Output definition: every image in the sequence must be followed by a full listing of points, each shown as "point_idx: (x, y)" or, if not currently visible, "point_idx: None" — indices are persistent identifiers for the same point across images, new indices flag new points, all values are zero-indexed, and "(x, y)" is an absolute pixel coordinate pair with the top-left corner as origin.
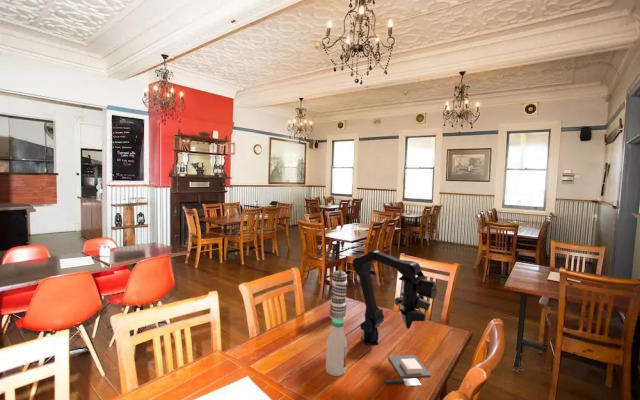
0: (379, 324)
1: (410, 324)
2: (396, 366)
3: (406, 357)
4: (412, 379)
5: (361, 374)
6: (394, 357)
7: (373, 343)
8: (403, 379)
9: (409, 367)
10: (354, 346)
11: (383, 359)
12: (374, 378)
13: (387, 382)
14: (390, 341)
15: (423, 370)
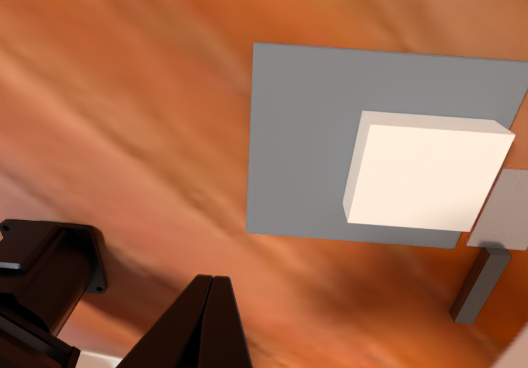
0: (1, 345)
1: (246, 354)
2: (362, 233)
3: (277, 131)
4: (500, 197)
5: (361, 361)
6: (266, 206)
7: (97, 254)
8: (475, 239)
9: (459, 214)
10: (132, 327)
11: (264, 254)
12: (405, 334)
13: (474, 319)
14: (34, 135)
15: (466, 88)
